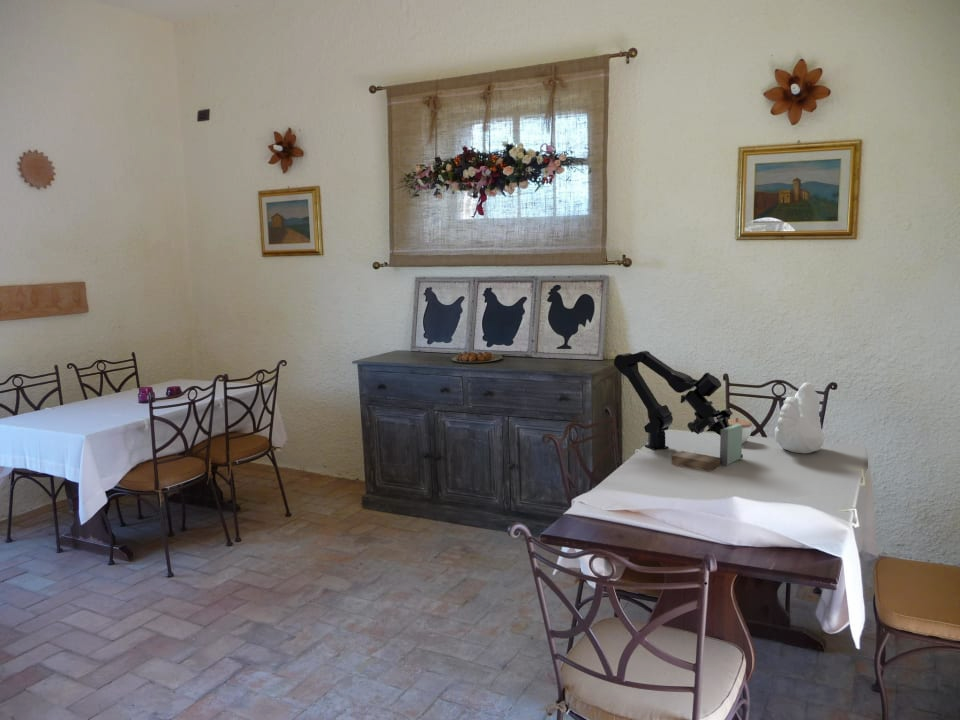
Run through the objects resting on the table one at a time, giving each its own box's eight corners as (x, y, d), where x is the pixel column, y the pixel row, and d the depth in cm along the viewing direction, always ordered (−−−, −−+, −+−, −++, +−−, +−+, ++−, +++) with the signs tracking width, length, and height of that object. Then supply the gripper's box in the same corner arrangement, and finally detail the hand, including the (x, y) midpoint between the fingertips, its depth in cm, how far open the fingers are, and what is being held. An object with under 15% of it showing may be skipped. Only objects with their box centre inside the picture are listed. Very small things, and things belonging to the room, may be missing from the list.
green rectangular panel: (725, 465, 239) (726, 431, 238) (718, 464, 241) (719, 430, 239) (742, 457, 249) (743, 424, 247) (736, 456, 250) (737, 423, 249)
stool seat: (671, 463, 245) (671, 455, 244) (682, 459, 250) (682, 450, 250) (709, 471, 235) (710, 462, 235) (720, 466, 240) (720, 457, 240)
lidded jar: (715, 439, 276) (716, 416, 274) (739, 437, 279) (739, 413, 278) (733, 446, 265) (733, 421, 264) (757, 443, 269) (758, 419, 267)
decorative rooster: (795, 442, 269) (798, 377, 266) (834, 451, 256) (837, 383, 253) (751, 452, 257) (753, 384, 254) (789, 462, 244) (792, 390, 240)
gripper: (697, 413, 263) (725, 447, 257) (673, 423, 250) (702, 458, 244) (718, 395, 257) (747, 429, 251) (694, 403, 244) (725, 439, 238)
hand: (730, 439), depth 246 cm, fingers closed, pressing on green rectangular panel
